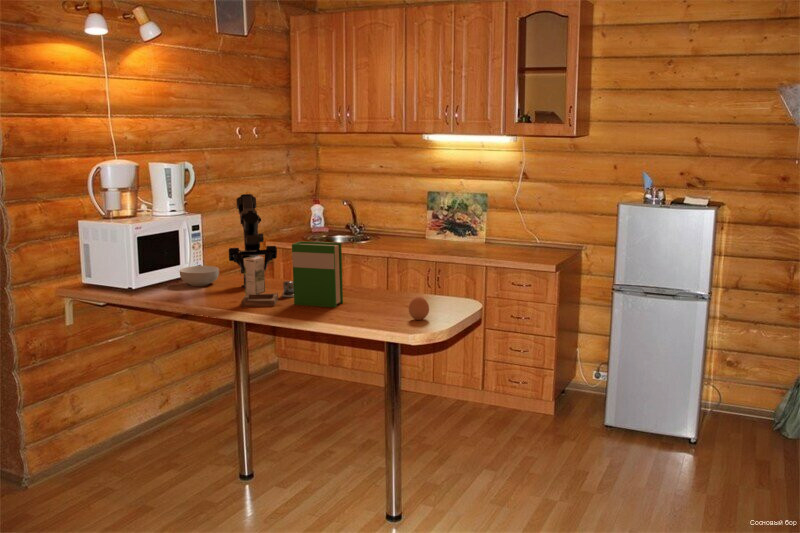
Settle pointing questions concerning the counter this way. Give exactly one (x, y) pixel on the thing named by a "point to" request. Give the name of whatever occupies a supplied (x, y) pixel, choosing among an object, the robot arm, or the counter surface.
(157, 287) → the counter surface
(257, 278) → the syrup box
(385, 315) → the counter surface
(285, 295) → the chuck post
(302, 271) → the hardback book
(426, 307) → the egg
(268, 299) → the socket tray
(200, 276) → the cereal bowl
